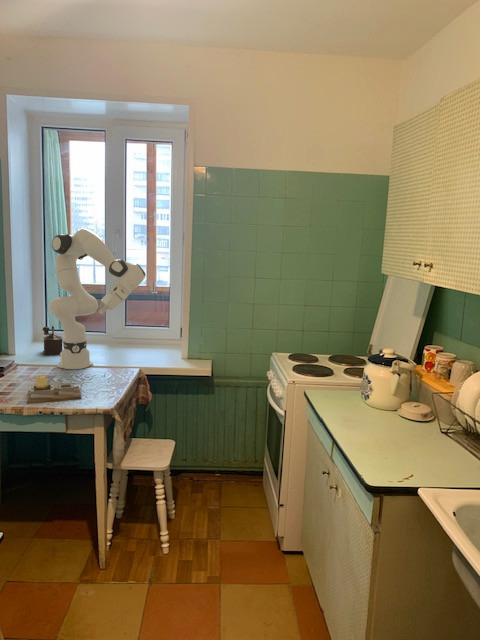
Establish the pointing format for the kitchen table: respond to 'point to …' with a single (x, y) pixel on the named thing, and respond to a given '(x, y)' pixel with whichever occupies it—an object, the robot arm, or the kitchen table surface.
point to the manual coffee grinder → (52, 342)
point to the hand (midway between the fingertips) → (98, 311)
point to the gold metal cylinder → (41, 382)
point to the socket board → (54, 393)
